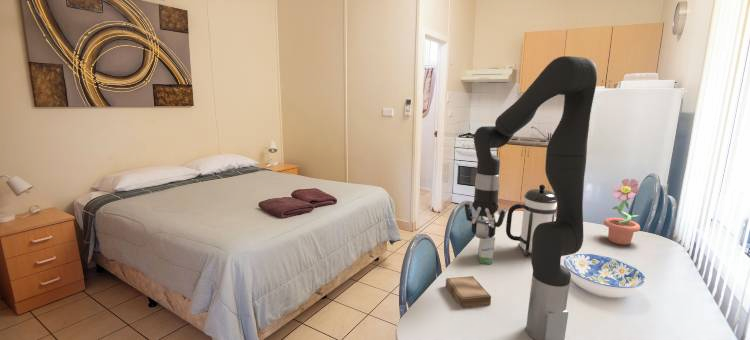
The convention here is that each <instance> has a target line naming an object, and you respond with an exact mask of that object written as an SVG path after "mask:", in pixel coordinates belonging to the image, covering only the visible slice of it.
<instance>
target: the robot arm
mask: <svg viewBox="0 0 750 340" xmlns="http://www.w3.org/2000/svg"><path fill="white" fill-rule="evenodd" d="M597 83H598V69H597V65H596V64H595V62H594V61H593V60H592V59H590V58H587V57H580V56H569V55H566V56H565V55H564V56H559V57H557V58H555V59H553V60H552V61H551V62H549V63H548V64H547V65H546V66H545V68H544V69H542V71H541V72H540V73H539V74H538V76H537V77H536V79H534V81H533V82H532V83H531V84H530V85H529V86H528V87H527V89H526V90H525V91H524V93H522V95H521V96H520V97H519V98H518V99H517V100H516V101H515V102H514V103H513V104H512V105H511V106H509V107H508V108H506V110H504V111H503V112H502V113H501V114H499V116H498V117H496V119H495V125H494V126H480V127H478V128H477V129H476V131H475V132H474V134H473V145H474V149H475V153H476V159H477V165H476V176H475V181H474V182H475V183H474V194H473V195H474V196H473V202H467V203H465V204H464V213H465V217H466V220H467V221H469V222H470V223H471V232H472V234H473V235H475V233H476V221H477V220H480V219H479V218H480V217H484V218H487V220H488V221H489V222H490V225H491V227H490V232H489V238H492V237H493V236H494V235H495V236H496V228H500V227H501V226H502V225H503V223H504V220H505V216H506V215H507V213H508V210H507V209H506V208H501V207H499V205H498V198H499V190H500V170H501V169H500V167H501V160H500V157H499V156H498V155H494V154H492V152H491V149H497V148H499V149H500V148H502V147H504V146H505V145H507V144H508V143H509V142H510V140H511V139H512V138H513V136H514V135H515V134H516V133H517V132H518V131H520V130H521V129H523V128H524V127H525V126H526V125H528V124H529V123H530V122H531V121H532V120H533V118H534V116H535V115H536V113H537V110H538V109H539V108H540V106H542V105H543V104H545V102H547V101H549V100H551V99H552V98H554V97H556V96H559V95H562V96H564V102H563V110H562V115H561V118H560V120H559V122H558V125H557V126H556V128H555V130H554V131H553V133H552V135H551V137H550V139H549V141H548V143H547V146H546V154H545V165H544V166H545V167H544V169H545V171H544V172H545V175H546V178H547V179H546V180H547V181H548V183H549V185H550V187H551V190H552V192H553V193H555V196H556V199H557V205H556V207H557V209H556V215H555V220H554V221H552V222H545V223H541V224H539V225H538V226H537V227H536V228H535V230H534V233H533V239H532V253H531V257H530V262H531V263H530V264H531V266H532V275H531V276H532V277H531V285H530V291H529V298H528V308H527V309H528V311H527V316H526V327H525V330H526V333H527V335H528V336H529V337H531V338H532V339H533V340H565V338H566V332H567V325H568V316H569V311H568V310H567V305H568V297H569V291H570V285H571V284H570V283H571V277H572V274H571V271H570V270H569V268H567V267H566V266H564V265H562V264H561V261H562V260H561V259H562V257H565V256H571V255H574V254H576V253H578V252H579V251H580V250H581V248H582V246H583V242H584V212H583V211H584V209H583V208H584V203H583V201H584V189H585V188H584V187H585V183H584V182H585V175H586V174H585V173H586V166H587V154H588V138H589V129H590V120H591V113H592V108H593V103H594V102H593V101H594V98H595V92H596V87H597ZM472 209H474V210H475V213H474V215H473V212H472ZM495 213H497V214H498V219H497V221H496V216H495Z"/></svg>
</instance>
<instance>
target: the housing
mask: <svg viewBox="0 0 750 340" xmlns="http://www.w3.org/2000/svg"><path fill="white" fill-rule="evenodd" d="M490 227H491V225H490V222H489V220H488V219H478V220H477V221H476V233H475V234H474V236H475V237H476V238H478V239H479V240H480V239H489V232H490Z"/></svg>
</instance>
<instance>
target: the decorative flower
mask: <svg viewBox="0 0 750 340" xmlns="http://www.w3.org/2000/svg"><path fill="white" fill-rule="evenodd" d="M639 189H640V185H639V181H638V180H636V179H634V178H632V179H630V178H623V179H622V180H621V185H618V184H616V185H614V186H613V192H615V193H613V197H614V198H615V199H618V201H621V202H620V204H619V206H618V205H616V206H613V207H612V208H611V209H612V210H617V213H618V214H619V215H620V216H621V217H608V218H606V219H604V221H603V224H604V226H605V227H607V228H608V240H609V241H610V242H612V243H614V244H617V245H622V246H623V245H624V246H626V245H630V244H631V242H632V240H633V235H634V233H635V232H636V233H637V232H639V231H641V225H640V224H638V222H635V221H633V220H632V218H635V217H638V216H640V215H639V214H633V215H631V214H629V213H627V212H625V211H623V209H624V207H626V208H627V210H630V209H629V207H630V206H629V203H628V201H629V200H631V199H633V198H634V197H635V196H637V193H638V192H639ZM622 217H624V218H622Z"/></svg>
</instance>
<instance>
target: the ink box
mask: <svg viewBox="0 0 750 340" xmlns="http://www.w3.org/2000/svg"><path fill="white" fill-rule="evenodd" d="M495 241H496V234H495V235H494V236H493V237H492V238H489V239H480V238H479V241H478V242H479V244H478V251H477V255H478V261H479V263H480V264H486V265H492V264H493V259H494V250H495V243H496V242H495Z"/></svg>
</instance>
